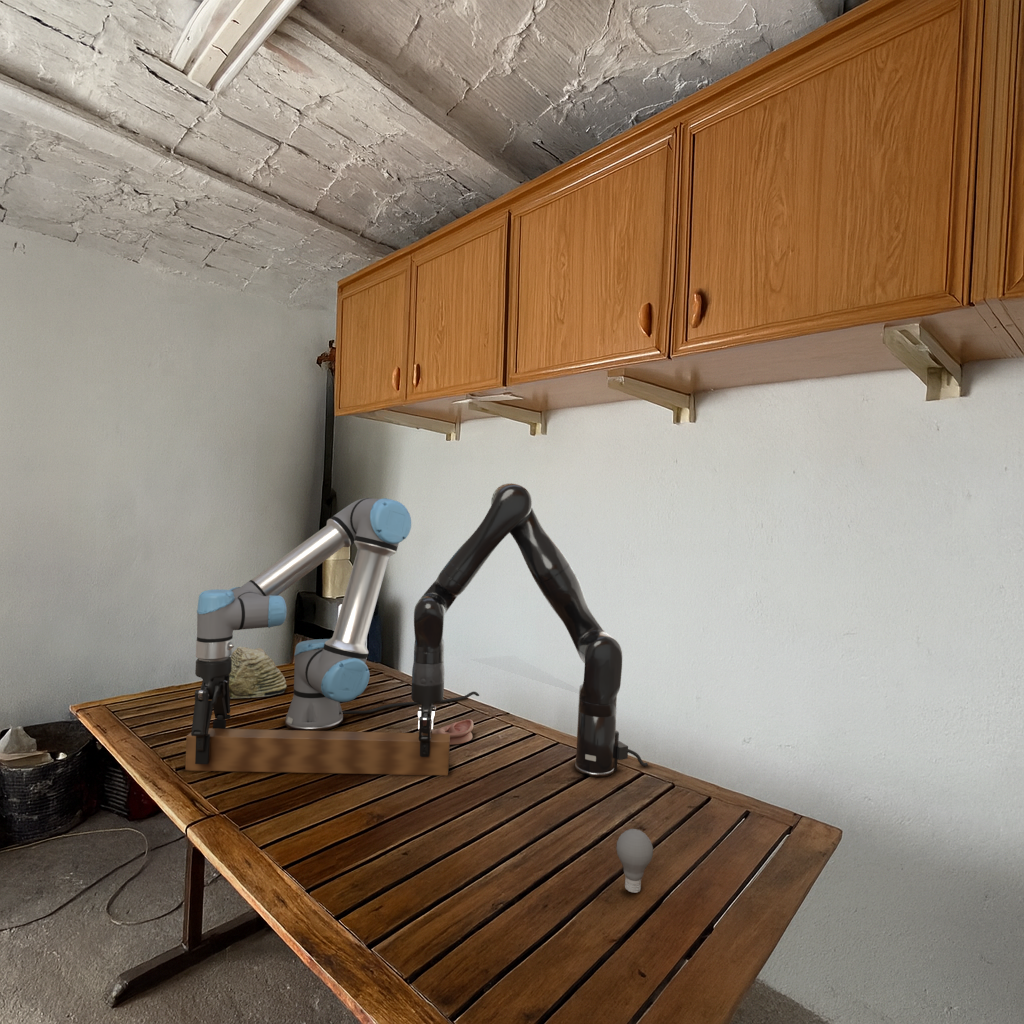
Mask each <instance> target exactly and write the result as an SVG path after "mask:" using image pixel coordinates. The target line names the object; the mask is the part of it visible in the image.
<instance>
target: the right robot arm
mask: <svg viewBox="0 0 1024 1024" xmlns="http://www.w3.org/2000/svg"><path fill="white" fill-rule="evenodd" d="M509 534H510V535H511V537H512V538H513V540H514V541H515V543H516V545H517V546H518V549H519V550H520V553H521V555H522V558H523V560H524V562H525V564H526V566H527V568H528V570H529V572H530V574H531V576H532V578H533V580H534V582H535V583H536V585H537V587H538V589H539V590H540V592H541V593H542V595H543V596H544V598H545V600H546V602H547V603H548V604H549V606H550V607H551V608H552V610H553V611H554V612H555V614H556V615H557V617H558V618H559V619H560V620H561V622H562V623H563V625H564V627H565V629H566V630H567V632H568V634H569V636H570V638H571V640H572V643H573V646H574V647H575V650H576V652H577V654H578V657H579V658H580V660H581V661H582V663H583V664H584V668H583V669H584V671H583V681H582V684H581V685H580V686H579V688H578V708H577V729H576V731H577V732H576V747H575V748H576V751H575V763H574V764H575V765H574V768H575V770H576V771H577V772H578V773H581V774H582V775H585V776H589V777H595V778H598V777H599V778H603V777H609V776H611V775H613V774H614V773H615V772H617V771H618V763H619V762H618V761H622V760H627V759H628V756H629V754H631V755H632V756H634V757H635V758H636V759H637V761H638V763H639V764H640V765H641V766H642V767H648V765H649V764H648V762H644V761H643V760H642V758H641V756H640V755H639V753H637V752H636V751H634V750H632V749H629V746H628V745H627V744H625V743H623V742H622V741H620V732H619V731H618V730H617V711H618V709H617V708H618V695H619V692H620V689H621V685H622V675H623V674H622V673H623V661H624V660H623V649H622V646H621V644H620V643H619V641H618V640H617V639H616V638H614V637H613V636H612V635H610V634H608V633H607V632H606V631H605V630H604V628H603V627H602V626H601V625H600V623H599V622H598V620H597V619H596V617H595V616H594V614H593V613H592V611H591V609H590V608H589V605H588V603H587V600H586V596H585V593H584V590H583V587H582V585H581V582H580V580H579V577H578V576H577V575H576V573H575V570H574V569H573V568H572V565H571V564H570V563H569V561H568V559H567V557H566V556H565V555H564V553H563V552H562V551H561V549H560V548H559V547H558V545H557V544H556V542H555V541H553V540H552V538H551V537H550V536H549V534H548V533H547V532H546V531H545V529H544V528H543V526H542V525H541V522H540V521H539V519H538V516H537V514H536V513H535V511H534V509H533V498H532V495H531V494H530V492H529V490H528V489H527V488H526V487H524V486H522V485H520V484H517V483H512V482H511V483H510V482H509V483H503V484H501V485H499V486H498V487H496V489H495V490H494V492H493V493H492V496H491V501H490V507H489V509H488V511H487V513H486V515H485V517H484V518H483V520H482V521H481V522H480V524H479V525H478V527H477V528H476V529H475V530H474V532H473V533H472V534H471V535H470V536H469V538H467V540H465V542H464V543H463V544H462V545H461V546H460V547H459V548H458V549H457V550H456V551H455V552H454V554H453V555H452V557H451V558H450V559H449V560H448V562H446V564H445V566H444V567H443V568H442V570H440V572H439V574H438V575H437V578H436V580H434V581H433V583H431V585H430V586H429V587H428V589H427V590H426V591H425V592H424V593H423V594H422V595H421V597H420V598H419V600H418V601H417V602H416V604H415V607H414V610H413V630H414V645H413V664H412V670H411V696H410V697H411V700H412V702H416V703H420V704H419V706H418V709H417V717H418V723H417V729H418V733H419V741H420V756H421V757H429V754H430V740H431V734H432V731H431V730H434V724H435V720H436V711H437V706H436V705H435V704H439V703H438V702H440V701H442V700H443V699H445V698H444V695H445V694H444V693H445V661H444V660H445V641H444V626H445V624H444V623H445V615H446V614H447V612H448V610H449V609H450V608H451V606H452V605H453V603H454V602H455V601H456V599H457V598H458V597H459V596H460V595H461V594H463V592H464V591H465V590H466V589H467V587H468V586H469V585H470V583H471V582H472V580H473V579H474V578H475V577H476V576H477V574H478V573H479V571H480V570H481V569H482V568H483V566H484V564H485V563H486V562H487V560H488V559H489V557H490V556H491V555H492V553H493V552H494V551H495V549H496V548H497V547H498V546H499V545H500V543H501V542H502V541H503V540H504V539H505V538H506V537H508V535H509ZM422 733H428V735H422Z"/></svg>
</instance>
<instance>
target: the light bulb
mask: <svg viewBox="0 0 1024 1024" xmlns="http://www.w3.org/2000/svg"><path fill="white" fill-rule="evenodd" d="M615 849H616V854H617V857H618V859H619V861H620V863H621V865H622V867H623V873H624V874H623V875H624V876H625V878H624V888H625V890H627V891H628V892H630V893H634V894H635V893H639V892H640V891H641V889H642V887H641V886H642V879H643V877H644V875H645V871H646V868H647V867H648V866H649V864H650V863H651V861H652V859H653V855H654V847H653V843H652V841H651V838H649V836H648V835H647V834H646V833H645V832H643V831H642V830H641V829H636V828H629V829H627V830H625V831H623V832H622V833H621V834H620V835H619V837H618V839H617V841H616V847H615Z"/></svg>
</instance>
